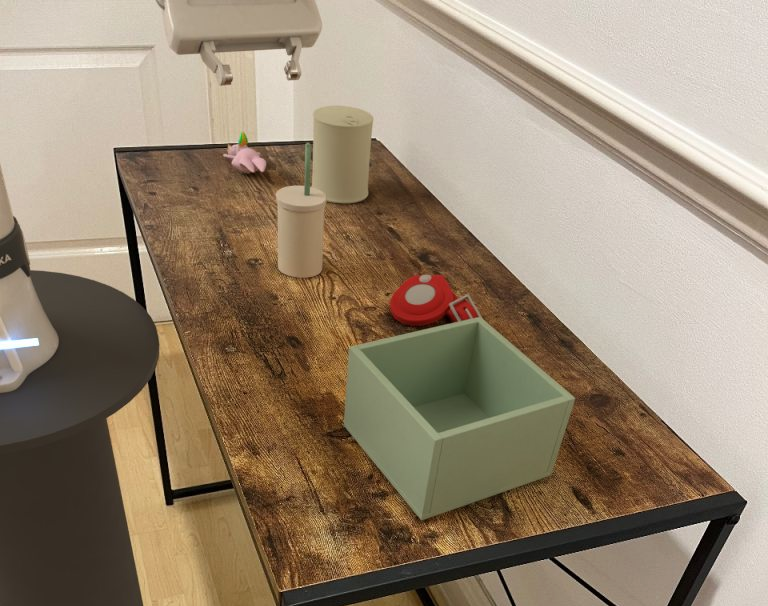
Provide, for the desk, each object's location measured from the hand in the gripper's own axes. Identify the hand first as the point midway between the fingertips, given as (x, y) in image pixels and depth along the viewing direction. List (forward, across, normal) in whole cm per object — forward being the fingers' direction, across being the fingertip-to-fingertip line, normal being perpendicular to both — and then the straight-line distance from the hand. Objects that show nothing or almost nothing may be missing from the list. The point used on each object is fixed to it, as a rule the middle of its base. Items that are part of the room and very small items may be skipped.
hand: (261, 80), depth 99 cm
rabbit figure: (0, +6, +29) cm, 29 cm away
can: (+8, +17, +20) cm, 28 cm away
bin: (+52, -3, -24) cm, 57 cm away
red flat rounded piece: (+36, +10, -7) cm, 38 cm away
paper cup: (+23, 0, +5) cm, 23 cm away
